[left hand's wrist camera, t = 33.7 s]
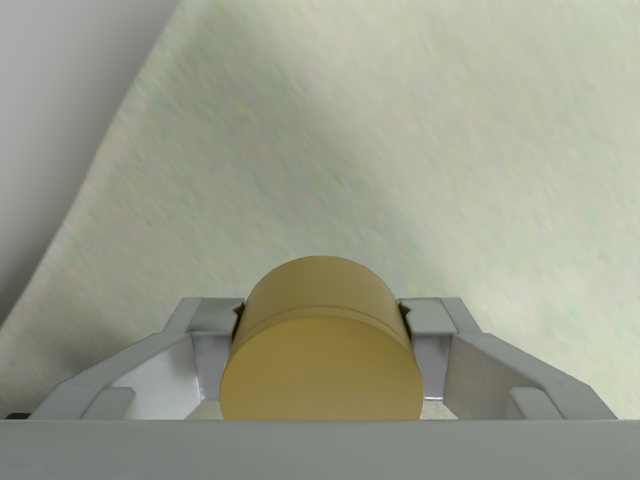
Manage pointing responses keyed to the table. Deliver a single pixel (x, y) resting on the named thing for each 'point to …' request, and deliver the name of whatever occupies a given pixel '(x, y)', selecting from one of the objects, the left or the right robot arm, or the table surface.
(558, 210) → the table surface
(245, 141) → the table surface
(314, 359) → the cap
